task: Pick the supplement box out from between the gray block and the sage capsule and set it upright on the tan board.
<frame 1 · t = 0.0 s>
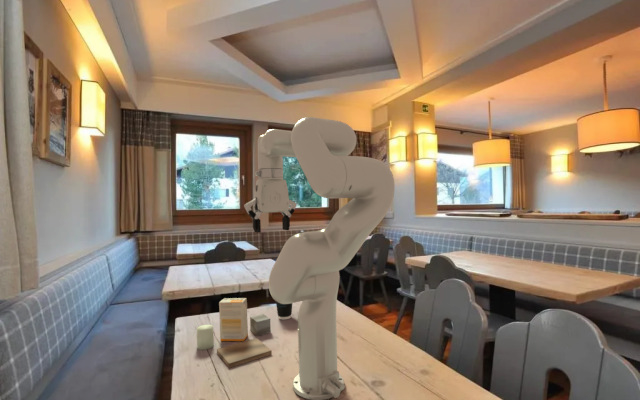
hand: (272, 231, 101), 37 cm above the table, tool pointing down, fingers open, 9 cm apart
gray block: (260, 331, 115), on the table
tan board: (244, 353, 99), on the table
supplement box: (234, 339, 110), on the table
sage capsule: (205, 346, 104), on the table
dixie cup: (284, 317, 129), on the table
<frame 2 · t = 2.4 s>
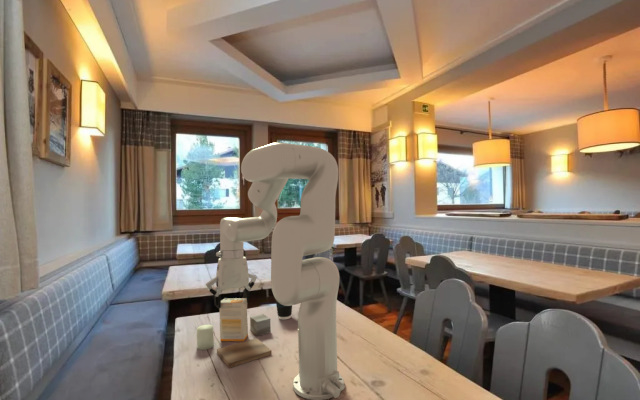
hand: (232, 304, 110), 11 cm above the table, tool pointing down, fingers open, 9 cm apart
supplement box: (234, 339, 110), on the table, touching gripper
everything else where it was.
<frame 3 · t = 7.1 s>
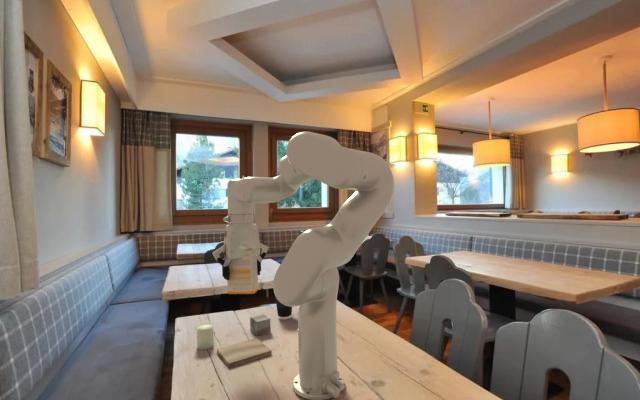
hand: (242, 276, 99), 23 cm above the table, tool pointing down, fingers closed on supplement box, 9 cm apart
supplement box: (243, 292, 98), point 18 cm above the table, touching gripper
everything else where it was.
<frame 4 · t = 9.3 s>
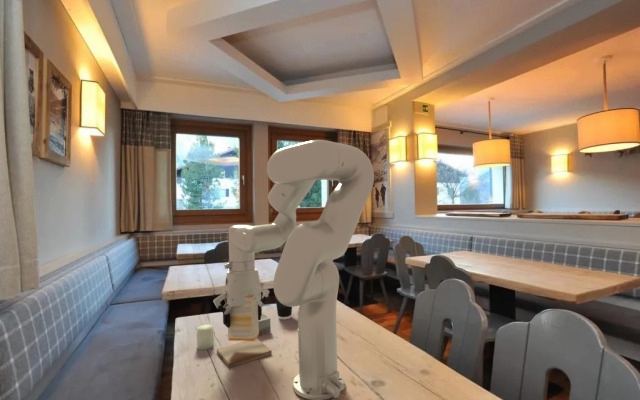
hand: (243, 322, 99), 9 cm above the table, tool pointing down, fingers closed on supplement box, 9 cm apart
supplement box: (243, 338, 99), point 5 cm above the table, touching gripper
everything else where it was.
when the fingers open (7 cm above the table, at t = 10.7 s): supplement box stays where it is, resting on tan board.
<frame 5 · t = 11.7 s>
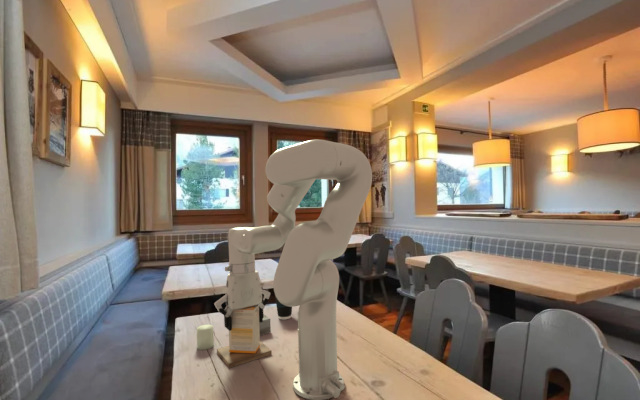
hand: (244, 325, 98), 9 cm above the table, tool pointing down, fingers open, 9 cm apart
supplement box: (244, 350, 98), point 1 cm above the table, touching tan board
everything else where it was.
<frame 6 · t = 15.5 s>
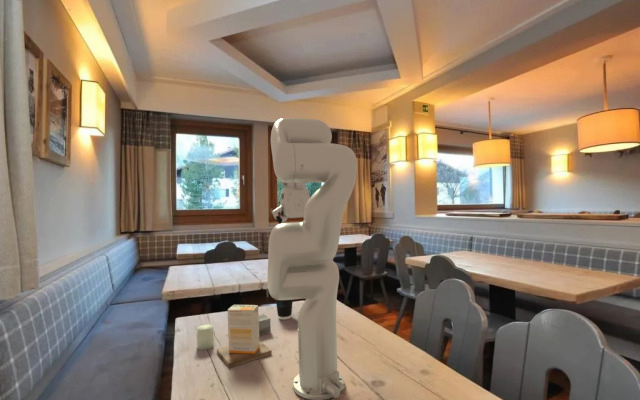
hand: (295, 234, 112), 34 cm above the table, tool pointing down, fingers open, 9 cm apart
nothing on the table moved.
at the end: supplement box inside the target area on the tan board (0.4 cm from its centre), point 1.0 cm above the tan board's base; supplement box tilted 0°; the gripper is holding nothing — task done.
